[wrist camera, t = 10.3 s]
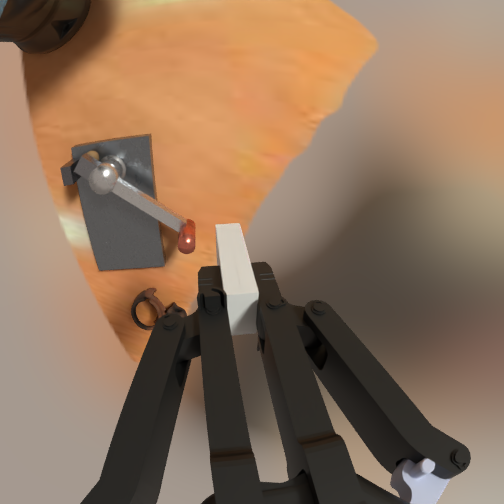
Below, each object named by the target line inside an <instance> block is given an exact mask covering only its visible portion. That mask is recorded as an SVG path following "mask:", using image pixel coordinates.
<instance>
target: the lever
mask: <svg viewBox="0 0 504 504" xmlns="http://www.w3.org/2000/svg"><path fill="white" fill-rule="evenodd" d="M74 172H76V173H77V174H79V175H80V176H82V177H83V178H85V179H87V180H88V181H89V185H90V187H91V189H92V190H93V191H94V192H95V193H97V194H100V195H105V194H108V193H110V192H113V193H115V194H116V195H118V196H120V197H121V198H123V199H124V200H126V201H128V202H129V203H131V204H133V205H134V206H136V207H138V208H139V209H141V210H142V211H144V212H146V213H147V214H149V215H151V216H152V217H154V218H156V219H157V220H159V221H161V222H162V223H164V224H166V225H167V226H169V227H171V228H172V229H174V230H176V231H177V232H179V238H178V249H179V251H180V252H182V253H184V254H189V253H192V252H193V251H194V249H195V223H194V221H192V220H190V219H185V218H184V217H182V216H181V215H179V214H177V213H176V212H174V211H173V210H171V209H169V208H168V207H166V206H165V205H163V204H161V203H160V202H158V201H156V200H155V199H153V198H152V197H150V196H148V195H147V194H145V193H144V192H142V191H140V190H139V189H137V188H136V187H134V186H132V185H131V184H129V183H128V182H126V181H124V180H123V179H121V177H122V175H123V168H122V165H121V163H120V162H119V161H117V160H116V159H113V158H109V159H105V160H104V161H103V162H100V161H98V160H96V159H95V158H93V157H92V156H90V155H88V154H87V153H85V154H84V155H82V156H81V158H80V160H79V162H78V164H77V166H76V168H75V170H74Z"/></svg>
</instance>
